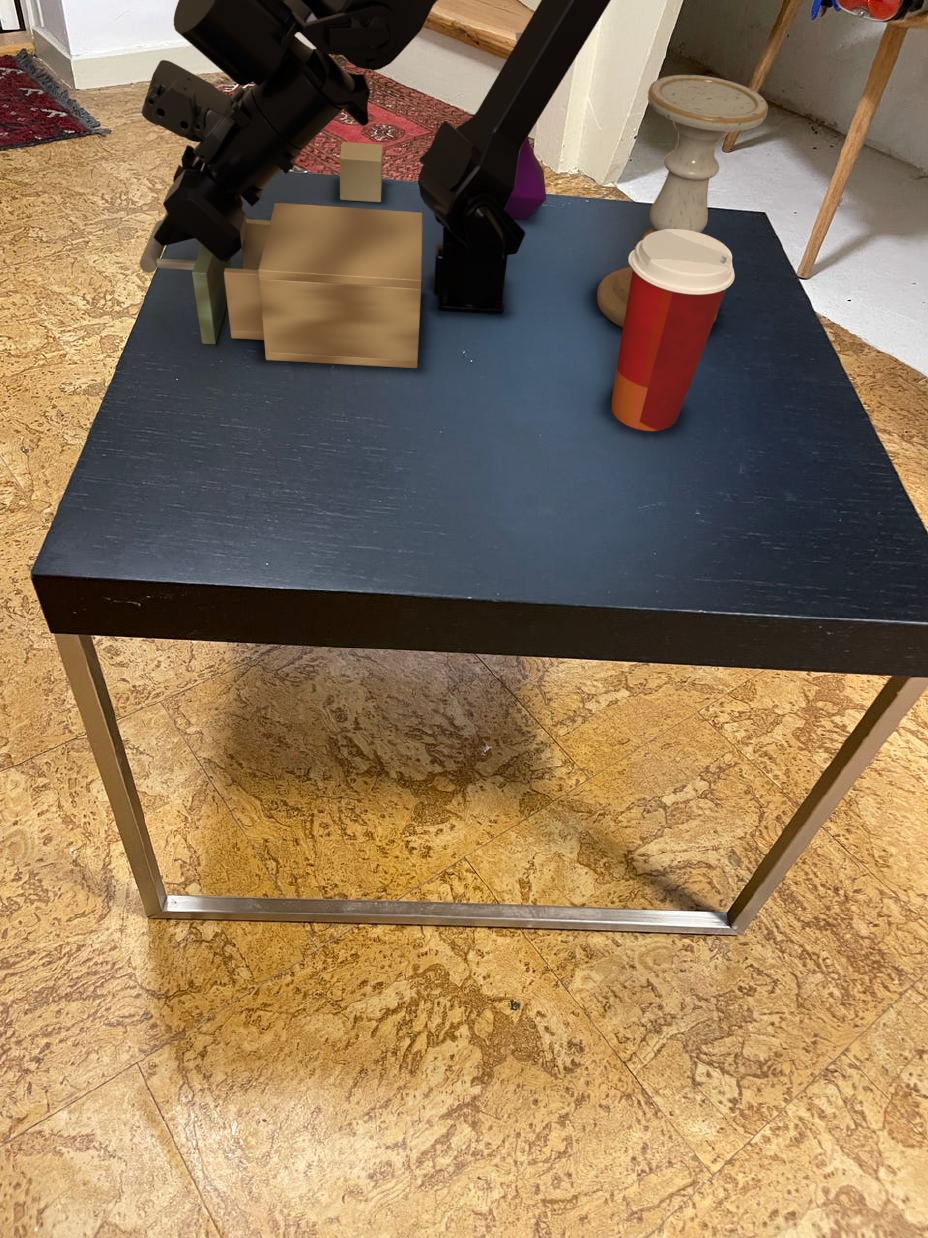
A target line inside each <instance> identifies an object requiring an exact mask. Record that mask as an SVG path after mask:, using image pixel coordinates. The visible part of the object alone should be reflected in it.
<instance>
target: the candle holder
mask: <svg viewBox="0 0 928 1238" xmlns="http://www.w3.org/2000/svg"><path fill="white" fill-rule="evenodd" d="M647 102H648V104H649V106H650V108H651V109H652V110H654V112H656V113H657V114H659V115H660V116H662V117H664V118H666V120H669V121H672V124H673V127H674V129H675V130H676V131H677V144H676V146H675V148H674V149H673V150H672V151H670V152H669V153H667V154H666V155H665V157H664V159H663V164H664V167H665V168H666V170H667V174H666V177H665V180H664V182H663V185H662V186H661V189H660V191H659V193H658V195H657V197H656V198H655V200H654V201H653V203H652V206H651V207H650V210H649V215H648V216H649V221H650V224H651V226H652V227H650V229H648V230H647V231H645V232H644V233H643V235H642V236H641V238H640V239H641V240H640V241H642V240H643V239H644V238H645V237H646V236H647V235H648V234H650V233H653V232H656V231H660V230H664V229H683V230H689V231H695V232H698V233H702V232H703V231H704V230H705V229H706V227H707V224H708V220H709V210H708V195H709V194H708V193H709V185H710V179H712V178H714V177H715V176H716V175H718V173H719V171H720V165H719V162H718V160H717V159H716V157H715V152H716V151H715V150H716V148H717V145H718V144H719V142H720V141H721V140H722V139H724V138H725V137H727V136H728V134H729V133H730V132H741V131H747V130H750V129H754V128H757V127H758V126H760V125H761V124H762V123H763V122H764V121H765V119H766V117H767V115H768V110H769V105H768V102H767V101H766V99H765V98H764V97H763V96H762V95H761V94H759V93H758V92H757V91H754V90H753V89H751V88H749V87H748V86H745V85H742V84H739V83H737V82H734V81H730V80H726V79H723V78H718V77H713V76H706V75H698V74H697V75H696V74H677V75H669V76H664V77H661V78H658V79H656V80H655V81H653V82H652V83H651V84H650V86H649V88H648V91H647ZM632 271H633V268H632V267H631V265H630V266H627V267H623V268H620V269H618V270H615V271H613V272H611V273H609V274H607V275H606V276H604V278H603V279H602V280H601V282H599V284H598V288H597V290H596V291H597V292H596V302H597V305H598V308H599V310H600V312H601V313H602V314H603V315H604V316H605V317H606V318H607V319H608V320H609V321H611V322H612V323H613V324H615V325H617V326H618V327H620V328H622V329H623V326H624V320H625V314H626V308H627V302H628V296H629V289H630V283H631V277H632ZM718 313H719V311H718V312H717V315H716V317H715V320H714V322H715V321H716V320H717V316H718Z"/></svg>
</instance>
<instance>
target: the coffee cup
mask: <svg viewBox="0 0 928 1238" xmlns="http://www.w3.org/2000/svg"><path fill="white" fill-rule="evenodd" d="M628 264H629V265H630V266H631V267H632V268H633V271H632V277H631V283H630V289H629V296H628V302H627V308H626V314H625V320H624V326H623V328H622V331H621V339H620V344H619V352H618V357H617V363H616V368H615V376H614V381H613V389H612V397H611V411H612V414H613V416H614V417H615V418H616V419H617V420H618V421H619V422H621V423H622V424H623V425H626V426H628V427H630V428H632V429H635V430H639V431H644V432H659V431H663V430H667V429H669V428H671V427H672V426H673V425H674V424H675V423H676V421H677V420H678V417H679V416H680V413H681V410H682V408H683V405H684V403H685V401H686V398H687V395H688V392H689V390H690V387H691V385H692V381H693V380H694V377H695V374H696V371H697V368H698V366H699V363H700V360H701V358H702V355H703V353H704V350H705V347H706V344H707V341H708V339H709V336H710V334H711V331H712V328H713V325H714V323H715V321H716V320H715V317H716V315H717V316H718V313H719V309H720V306H721V304H722V301H723V298H724V296H725V293H726V291H727V289H728V288H729V287H730V286H731V285H732V284H733V283H734V280H735V274H736V273H735V270H734V267H733V255H732V252H731V250H730V249H729V248H728V247H727V246H726V245H725V244H724V243H723V242H722V241H720V240H718V239H716V238H715V237H712V236H709V235H708V234H704V233H702V232H701V233H698V232H695V231H689V230H683V229H664V230H660V231H656V232H653V233H650V234H648V235H647V236H646V237H645V238H644V239H643V240H642V241H641V240H640V241H638V242H637V244H636V246H635V249H633V250H632V251H631V252H630V253H629V255H628ZM717 312H718V313H717ZM716 318H717V317H716ZM714 320H715V321H714Z"/></svg>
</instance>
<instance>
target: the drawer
mask: <svg viewBox="0 0 928 1238" xmlns="http://www.w3.org/2000/svg"><path fill="white" fill-rule="evenodd" d="M162 220H163V219H162ZM162 220H161V219H159V220H157V221H156V222H155V224H154V226H153V229H152V231H151V233H150V235H149V238H148V241H147V243H146V245H145V247H144V250H143V253H142V254H141V257H140V258H139V267H140V269H141V270H142V271H143V272H145V273H147V274H148V273H151V274H152V273H154V272H155V271H156V270H157V269H168V270H169V269H170V270H183V271H184V270H185V271H192V272H191V274H192V281H193V289H194V296H195V297H194V298H195V302H196V303H195V304H196V310H197V316H198V324H199V332H200V338H201V339H200V340H201V344H203V345H216V344H217V342H218V341H217V340H218V338H219V337H218V336H219V333H220V330H221V326H222V323H223V320H224V319H223V318H224V316H225V311H226V308H227V312H228V321H229V322H228V323H229V329H230V337H231V339H240V340H257V341H264V331H263V320H262V308H261V297H260V285H259V273H258V270H259V266H260V261H261V257H262V253H263V249H264V245H265V241H266V237H267V233H268V229H269V225H270V221H271V220H266V219H253V218H246V222H247V230H246V234H245V238H244V241H243V245H242V248H241V249H240V250H241V260H242V268H233V263H232V258H231V259H230V260H228V261H227V262H223V261H220V260H219V259H218V258H217V257H215V256H214V255H213V254H212V253H211V252H210V251H209V250H208V249H207V248H206V247H205V246H203V245H202V244H200V245H201V246H200V248H199V251H198V254H197V257H196V260H188V259H174V258H173V259H172V258H162V254H163V252H164V249H165V247H166V246H162V245H161V244H159V243H158V242H157V241H156V240H155V239H154V235H155V232H156V230H157V229H158V227H159V225H160V223H161V222H162Z"/></svg>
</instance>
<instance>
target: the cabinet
mask: <svg viewBox="0 0 928 1238" xmlns="http://www.w3.org/2000/svg"><path fill="white" fill-rule="evenodd" d="M272 209H273V210H272V212H271V213H272V214H271V217H270V220H269V221H270V225H269V229H268V233H267V237H266V241H265V245H264V249H263V253H262V257H261V261H260V266H259V270H258V273H259V285H260V297H261V308H262V320H263V331H264V340H263V341H264V352H265V355H264V356H265V360H266V361H277V362H278V361H281V362H295V363H296V362H298V363H314V364H331V365H332V364H334V365H349V366H369V367H385V368H386V367H387V368H404V369H405V368H406V369H418V361H419V360H418V359H419V340H420V323H421V322H420V321H421V319H420V318H421V298H422V277H423V275H422V274H423V271H422V270H423V268H422V267H423V212H419V211H418V212H417V211H404V210H403V211H402V210H388V209H373V208H357V207H346V206H345V207H344V206H331V205H330V206H329V205H316V204H315V205H313V204H300V203H287V202H286V203H285V202H274V206H273V208H272Z"/></svg>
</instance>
